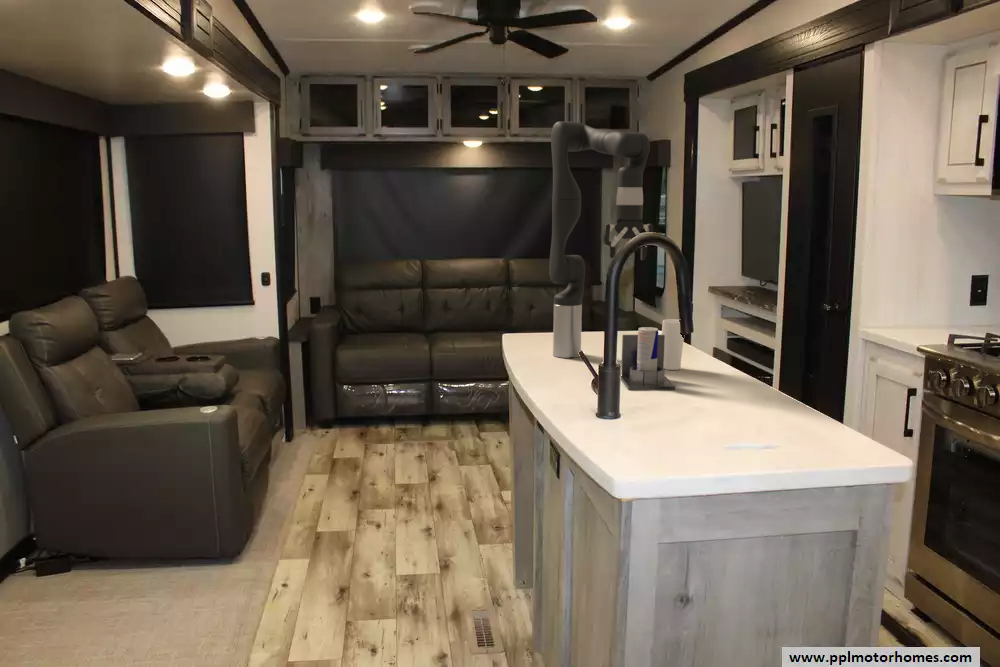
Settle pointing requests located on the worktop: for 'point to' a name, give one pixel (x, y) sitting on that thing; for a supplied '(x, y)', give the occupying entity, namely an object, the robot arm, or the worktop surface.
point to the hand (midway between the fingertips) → (627, 259)
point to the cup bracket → (643, 378)
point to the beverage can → (647, 349)
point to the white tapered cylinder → (672, 344)
